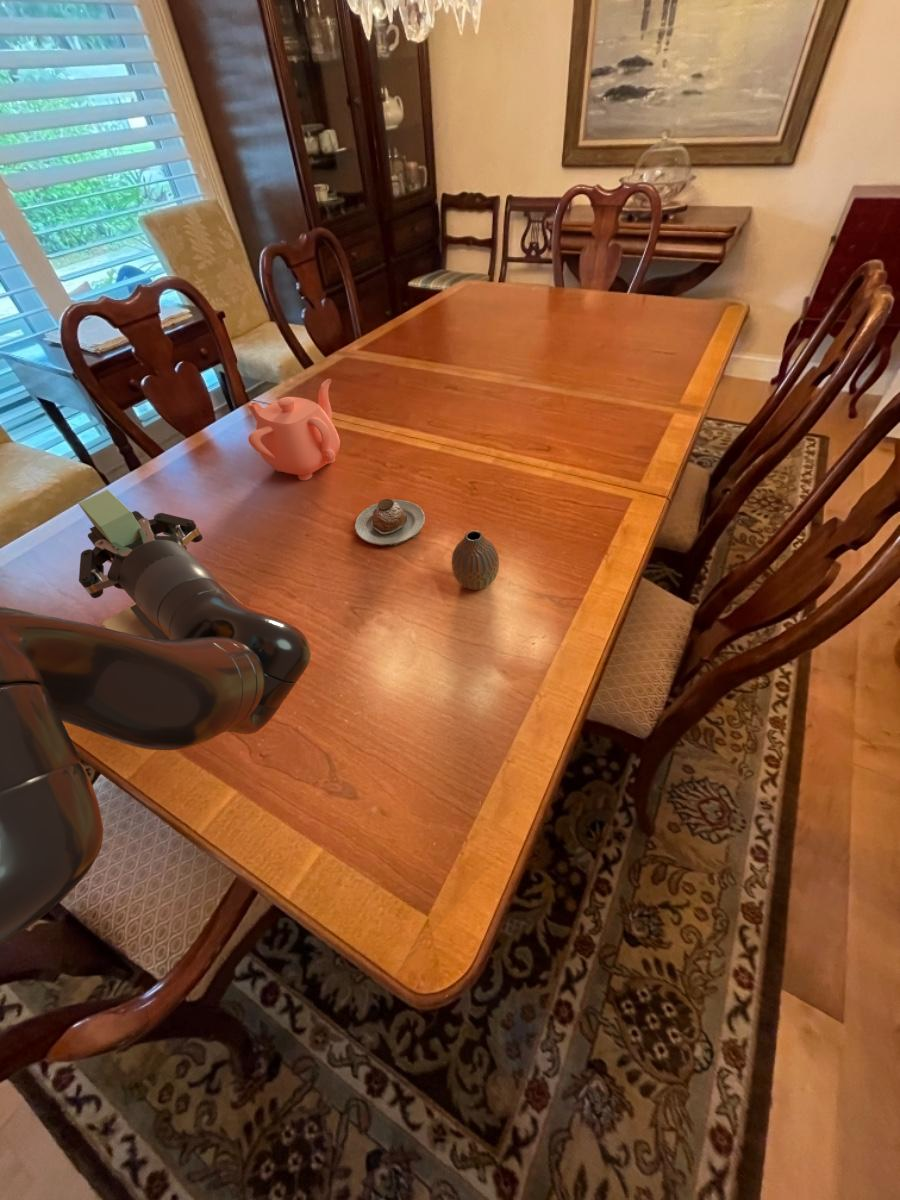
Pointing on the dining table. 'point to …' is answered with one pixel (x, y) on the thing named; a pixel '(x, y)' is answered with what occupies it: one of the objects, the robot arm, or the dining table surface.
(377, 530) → the pastry
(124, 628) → the seat base
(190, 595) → the robot arm
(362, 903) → the dining table surface
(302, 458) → the teapot
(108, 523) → the green rectangular block
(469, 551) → the vase
